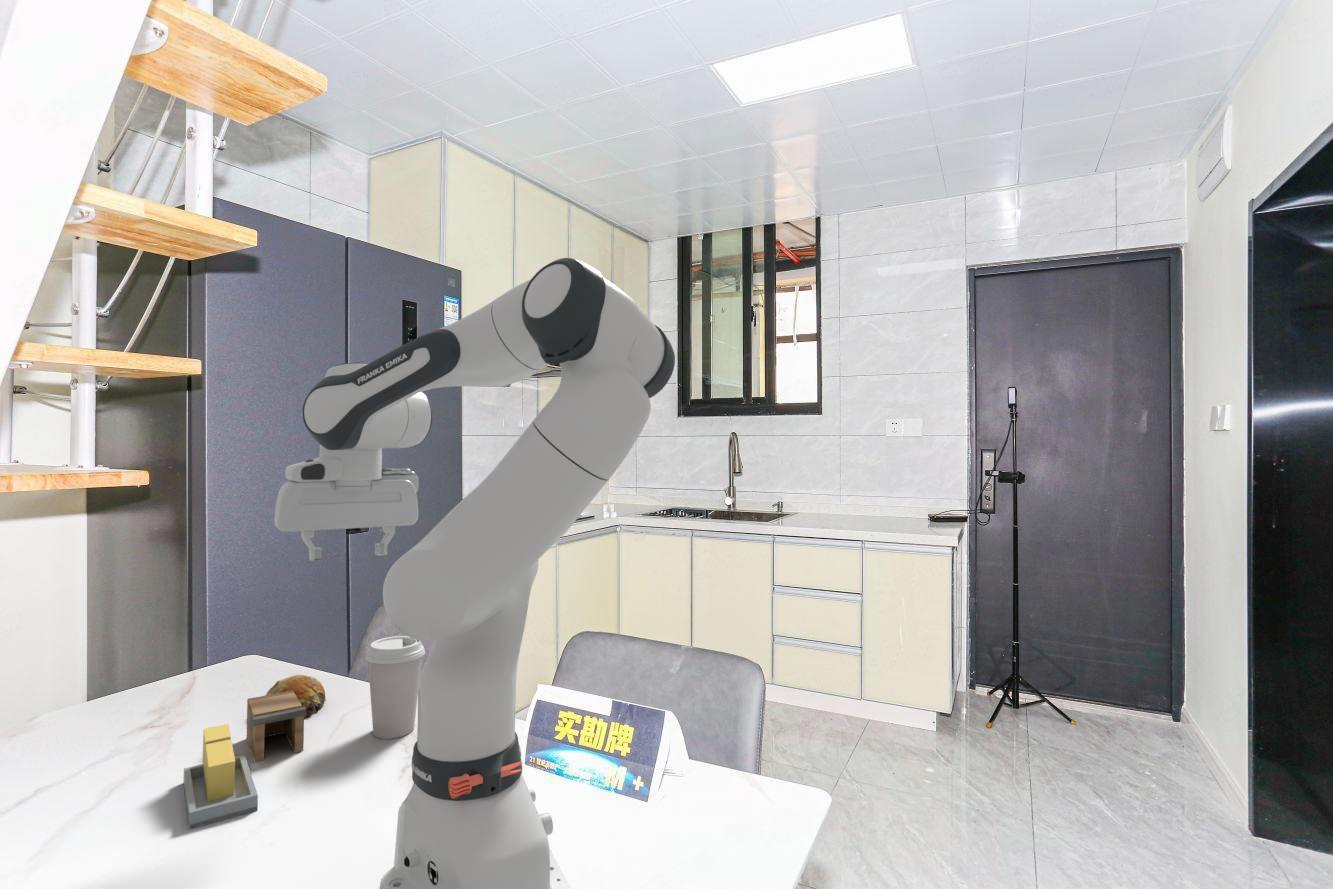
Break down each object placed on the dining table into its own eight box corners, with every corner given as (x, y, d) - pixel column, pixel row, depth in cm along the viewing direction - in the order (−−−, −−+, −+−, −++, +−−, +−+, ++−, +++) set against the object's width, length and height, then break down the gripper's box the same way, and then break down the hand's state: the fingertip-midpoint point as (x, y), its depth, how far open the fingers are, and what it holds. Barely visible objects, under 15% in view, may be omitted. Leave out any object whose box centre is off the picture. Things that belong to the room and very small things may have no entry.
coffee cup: (410, 743, 110) (412, 651, 110) (352, 742, 110) (354, 650, 110) (432, 719, 119) (433, 635, 119) (378, 718, 119) (380, 634, 119)
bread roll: (319, 718, 128) (314, 675, 131) (335, 709, 121) (330, 664, 124) (259, 732, 122) (256, 686, 124) (272, 723, 115) (269, 676, 117)
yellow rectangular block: (233, 794, 92) (235, 760, 91) (207, 801, 90) (208, 766, 89) (227, 755, 100) (228, 722, 99) (202, 760, 98) (203, 727, 97)
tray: (257, 810, 89) (257, 795, 89) (189, 828, 85) (189, 812, 85) (244, 768, 100) (244, 754, 101) (183, 782, 96) (183, 768, 96)
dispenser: (305, 750, 107) (306, 709, 107) (252, 762, 102) (253, 719, 102) (294, 728, 115) (294, 690, 115) (244, 738, 110) (245, 699, 110)
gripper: (412, 467, 113) (411, 549, 113) (273, 467, 101) (271, 560, 101) (425, 468, 108) (423, 554, 108) (280, 469, 96) (278, 566, 96)
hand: (349, 557), depth 104 cm, fingers open, 8 cm apart
